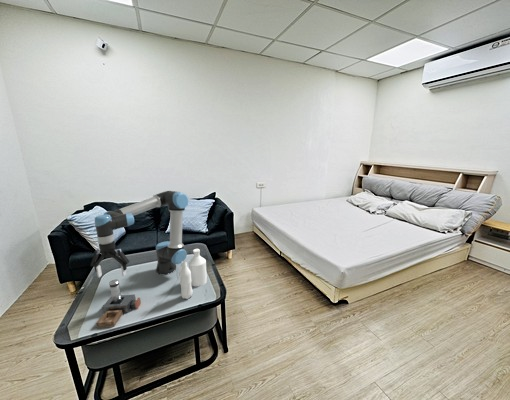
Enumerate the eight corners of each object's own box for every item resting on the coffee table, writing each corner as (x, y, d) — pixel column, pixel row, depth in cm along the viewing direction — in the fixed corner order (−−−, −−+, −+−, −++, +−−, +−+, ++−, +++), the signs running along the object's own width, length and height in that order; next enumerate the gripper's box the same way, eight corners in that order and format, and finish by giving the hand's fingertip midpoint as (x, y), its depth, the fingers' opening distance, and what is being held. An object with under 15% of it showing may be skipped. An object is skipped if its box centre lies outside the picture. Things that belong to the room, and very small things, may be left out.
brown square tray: (122, 314, 126) (122, 309, 125) (114, 326, 117) (113, 321, 117) (106, 315, 125) (105, 311, 125) (97, 327, 117) (96, 323, 116)
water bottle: (183, 293, 144) (179, 259, 138) (193, 292, 145) (190, 258, 139) (180, 300, 137) (176, 265, 132) (191, 299, 138) (188, 264, 132)
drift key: (140, 303, 135) (140, 297, 134) (137, 308, 130) (136, 302, 129) (127, 304, 134) (126, 298, 133) (123, 309, 130) (122, 303, 129)
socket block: (135, 301, 137) (134, 294, 136) (128, 312, 127) (126, 305, 126) (112, 302, 136) (111, 296, 135) (103, 314, 126) (101, 307, 125)
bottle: (199, 275, 165) (197, 245, 159) (210, 280, 158) (208, 249, 153) (187, 283, 155) (184, 251, 150) (198, 288, 149) (195, 255, 143)
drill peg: (124, 304, 134) (120, 279, 130) (120, 310, 129) (115, 283, 125) (116, 305, 134) (111, 279, 130) (112, 310, 129) (107, 284, 125)
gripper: (132, 238, 127) (137, 270, 131) (87, 240, 125) (93, 273, 129) (126, 243, 119) (131, 277, 124) (78, 245, 117) (85, 280, 122)
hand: (112, 275), depth 126 cm, fingers open, 13 cm apart
